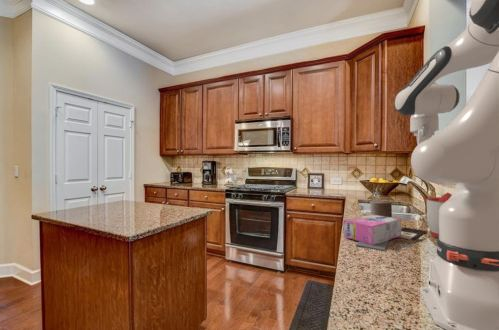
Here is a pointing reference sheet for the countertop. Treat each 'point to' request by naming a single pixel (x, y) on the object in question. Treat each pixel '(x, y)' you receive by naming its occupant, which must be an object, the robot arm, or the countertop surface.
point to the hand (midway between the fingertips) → (424, 163)
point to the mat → (378, 246)
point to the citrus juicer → (435, 212)
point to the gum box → (372, 228)
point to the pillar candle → (381, 208)
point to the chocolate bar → (411, 233)
